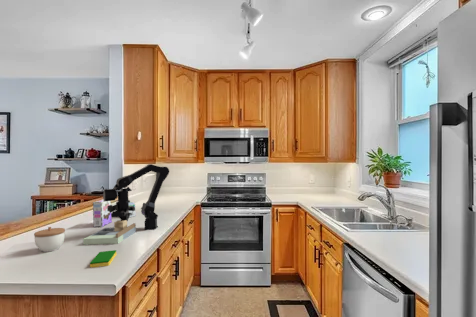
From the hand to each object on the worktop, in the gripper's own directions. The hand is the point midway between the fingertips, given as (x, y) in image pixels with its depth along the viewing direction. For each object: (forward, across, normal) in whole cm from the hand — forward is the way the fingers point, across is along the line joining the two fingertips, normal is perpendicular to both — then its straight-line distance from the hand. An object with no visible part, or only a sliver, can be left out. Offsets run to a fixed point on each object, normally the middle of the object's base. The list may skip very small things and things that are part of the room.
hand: (124, 226), depth 166 cm
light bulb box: (+5, -49, -20) cm, 53 cm away
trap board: (+4, +9, -3) cm, 11 cm away
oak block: (+1, +5, 0) cm, 5 cm away
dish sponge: (+4, +44, +11) cm, 46 cm away
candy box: (+5, -24, -26) cm, 36 cm away
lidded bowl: (+4, +27, -25) cm, 37 cm away
